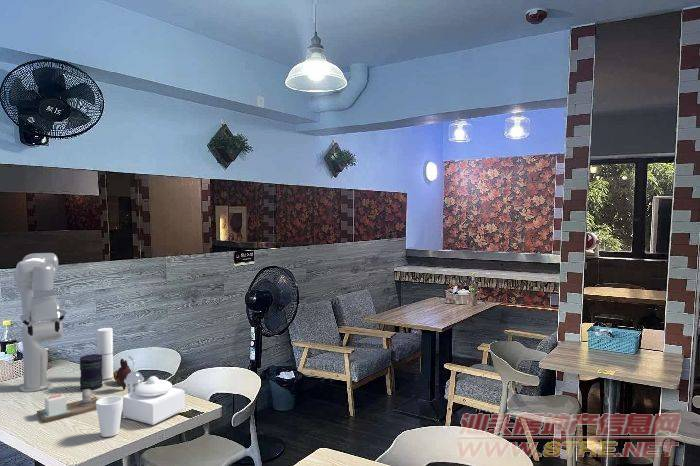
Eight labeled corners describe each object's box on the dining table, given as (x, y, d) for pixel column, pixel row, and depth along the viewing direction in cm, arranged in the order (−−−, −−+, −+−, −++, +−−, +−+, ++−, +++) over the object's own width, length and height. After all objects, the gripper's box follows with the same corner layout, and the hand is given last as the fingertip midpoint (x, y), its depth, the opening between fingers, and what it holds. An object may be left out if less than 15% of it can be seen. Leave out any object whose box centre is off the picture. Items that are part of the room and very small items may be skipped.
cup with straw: (123, 406, 214) (122, 361, 213) (124, 399, 222) (124, 356, 222) (144, 403, 217) (143, 359, 216) (144, 396, 226) (144, 354, 225)
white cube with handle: (62, 406, 209) (61, 391, 209) (66, 411, 204) (66, 395, 204) (45, 411, 205) (44, 395, 204) (48, 415, 200) (48, 399, 200)
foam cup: (102, 428, 193) (102, 395, 192) (126, 427, 193) (126, 395, 193) (92, 439, 183) (91, 405, 183) (117, 438, 184) (117, 404, 183)
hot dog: (122, 378, 251) (122, 368, 251) (131, 384, 241) (131, 375, 241) (112, 380, 248) (111, 370, 247) (120, 387, 238) (120, 377, 238)
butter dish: (184, 409, 212) (184, 373, 212) (152, 425, 196) (151, 386, 195) (155, 402, 220) (155, 367, 219) (121, 417, 203) (121, 379, 203)
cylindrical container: (106, 379, 248) (106, 331, 247) (94, 378, 249) (94, 330, 248) (116, 375, 255) (115, 328, 254) (104, 374, 256) (103, 327, 255)
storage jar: (107, 386, 239) (106, 356, 238) (87, 392, 231) (86, 361, 230) (95, 382, 244) (95, 353, 244) (75, 388, 236) (75, 357, 235)
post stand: (36, 414, 205) (36, 397, 205) (95, 400, 221) (95, 383, 221) (44, 423, 196) (43, 405, 196) (104, 407, 213) (104, 390, 212)
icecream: (134, 390, 234) (134, 359, 233) (118, 394, 229) (118, 362, 228) (129, 386, 239) (128, 356, 238) (113, 390, 234) (113, 359, 233)
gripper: (63, 290, 217) (64, 328, 218) (17, 295, 205) (18, 335, 206) (68, 292, 212) (69, 331, 213) (21, 297, 200) (22, 338, 200)
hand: (44, 333), depth 209 cm, fingers open, 9 cm apart
